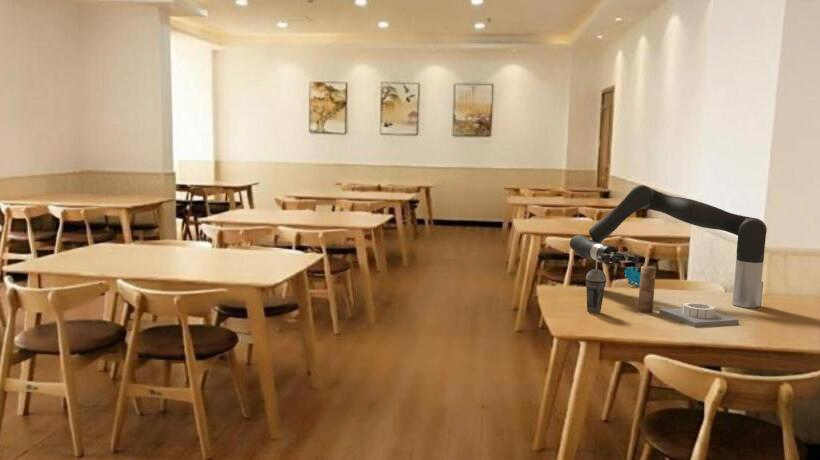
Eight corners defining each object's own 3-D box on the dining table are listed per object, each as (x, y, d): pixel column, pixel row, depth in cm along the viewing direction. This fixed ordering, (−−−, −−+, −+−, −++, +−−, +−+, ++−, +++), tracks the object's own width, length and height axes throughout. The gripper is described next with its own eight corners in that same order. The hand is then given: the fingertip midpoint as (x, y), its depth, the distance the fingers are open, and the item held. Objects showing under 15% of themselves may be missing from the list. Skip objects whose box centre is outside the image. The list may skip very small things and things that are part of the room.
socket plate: (700, 311, 246) (702, 298, 246) (738, 324, 229) (739, 311, 229) (659, 313, 241) (660, 301, 240) (694, 327, 224) (695, 313, 223)
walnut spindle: (646, 309, 247) (649, 265, 245) (655, 312, 242) (658, 268, 240) (634, 309, 245) (638, 266, 243) (643, 313, 241) (646, 268, 239)
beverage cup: (605, 311, 241) (609, 256, 239) (602, 315, 235) (606, 259, 232) (585, 308, 244) (588, 254, 242) (581, 313, 238) (584, 257, 235)
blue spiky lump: (630, 283, 283) (623, 264, 289) (622, 291, 288) (615, 272, 294) (652, 286, 287) (645, 267, 293) (644, 294, 291) (637, 274, 297)
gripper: (589, 244, 265) (613, 251, 250) (620, 244, 269) (646, 251, 254) (587, 263, 266) (611, 271, 251) (618, 262, 270) (644, 270, 255)
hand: (629, 261), depth 252 cm, fingers open, 8 cm apart
